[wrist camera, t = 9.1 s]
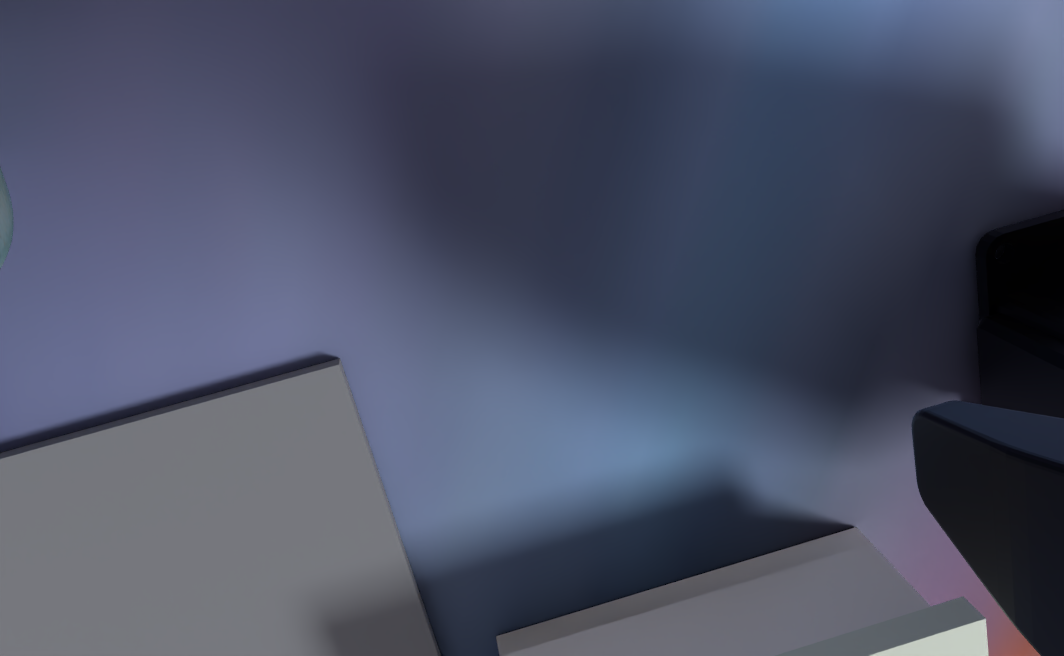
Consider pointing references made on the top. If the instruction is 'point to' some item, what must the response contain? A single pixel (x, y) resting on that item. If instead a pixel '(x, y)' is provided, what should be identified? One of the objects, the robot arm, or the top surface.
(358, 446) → the mat
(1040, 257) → the robot arm
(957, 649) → the lid
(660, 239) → the top surface
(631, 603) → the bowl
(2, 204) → the flower pot
